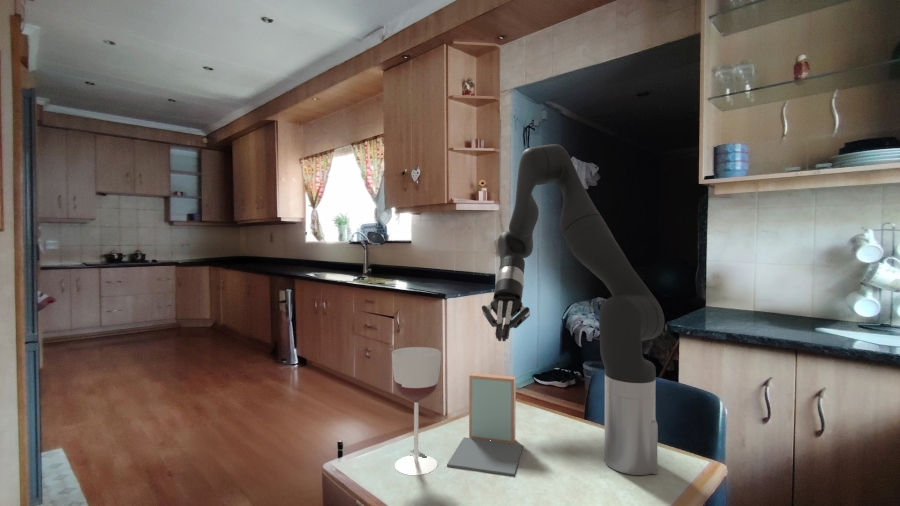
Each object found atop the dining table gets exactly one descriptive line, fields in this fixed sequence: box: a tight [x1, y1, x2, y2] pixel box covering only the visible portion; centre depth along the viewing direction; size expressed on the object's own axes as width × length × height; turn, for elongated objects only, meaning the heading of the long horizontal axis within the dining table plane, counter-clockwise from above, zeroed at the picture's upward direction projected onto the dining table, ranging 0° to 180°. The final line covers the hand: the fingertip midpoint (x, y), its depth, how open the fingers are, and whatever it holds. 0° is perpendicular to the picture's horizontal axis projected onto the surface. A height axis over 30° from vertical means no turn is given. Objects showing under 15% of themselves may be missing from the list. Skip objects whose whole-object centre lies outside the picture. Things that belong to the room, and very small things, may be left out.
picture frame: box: [468, 372, 517, 444], centre depth 98 cm, size 10×2×14 cm, turn 74°
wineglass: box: [391, 346, 442, 476], centre depth 86 cm, size 9×10×22 cm
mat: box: [446, 437, 524, 477], centre depth 90 cm, size 13×13×1 cm
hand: (501, 339), depth 110 cm, fingers closed
